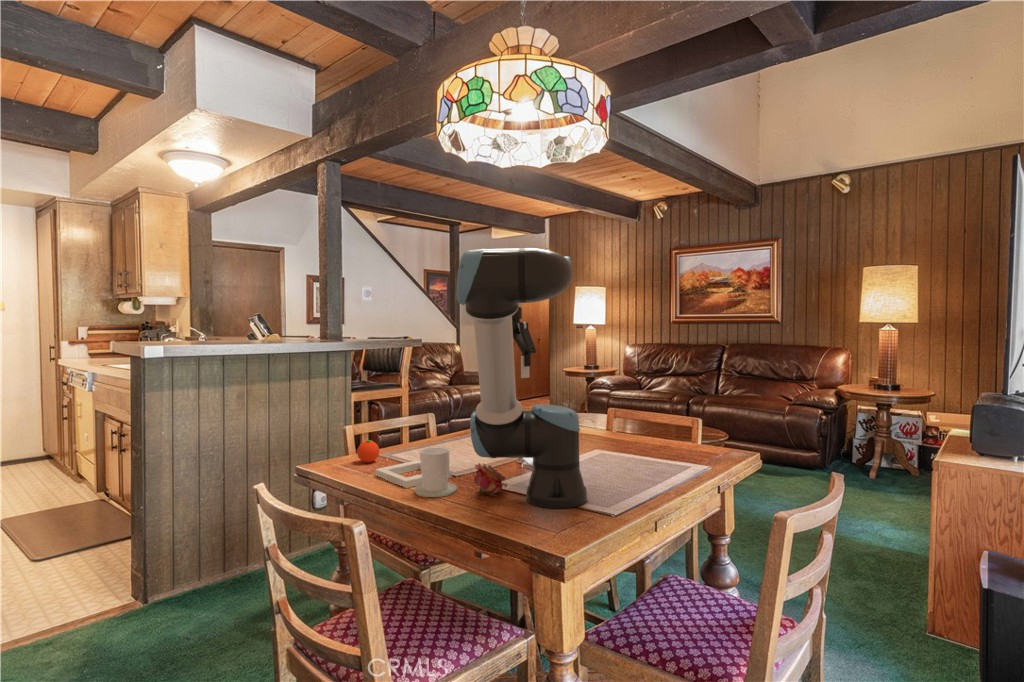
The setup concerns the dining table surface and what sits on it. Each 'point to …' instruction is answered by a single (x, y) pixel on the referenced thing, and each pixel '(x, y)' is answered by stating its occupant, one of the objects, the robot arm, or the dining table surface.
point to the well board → (394, 471)
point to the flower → (488, 479)
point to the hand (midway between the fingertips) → (509, 376)
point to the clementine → (368, 451)
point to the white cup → (435, 468)
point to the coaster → (446, 492)
